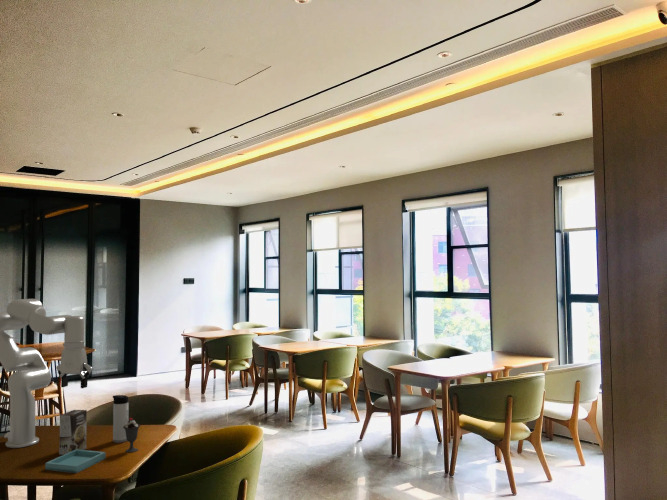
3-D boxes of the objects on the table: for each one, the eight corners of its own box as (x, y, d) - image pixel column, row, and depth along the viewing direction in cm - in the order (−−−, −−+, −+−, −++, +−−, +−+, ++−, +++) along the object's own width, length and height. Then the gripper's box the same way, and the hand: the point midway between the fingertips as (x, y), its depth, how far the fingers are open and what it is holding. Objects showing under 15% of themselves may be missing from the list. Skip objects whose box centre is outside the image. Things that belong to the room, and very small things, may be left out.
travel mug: (110, 440, 240) (110, 395, 240) (125, 437, 244) (125, 392, 245) (115, 444, 235) (115, 397, 236) (130, 440, 239) (130, 395, 240)
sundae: (130, 447, 231) (130, 411, 231) (143, 449, 228) (143, 412, 229) (119, 452, 224) (119, 415, 225) (132, 454, 222) (132, 416, 223)
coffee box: (72, 455, 221) (72, 415, 221) (58, 454, 222) (59, 414, 223) (87, 448, 230) (87, 409, 230) (73, 447, 231) (73, 409, 232)
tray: (45, 469, 205) (45, 462, 205) (76, 455, 221) (76, 449, 221) (76, 473, 201) (76, 466, 202) (105, 458, 217) (105, 452, 217)
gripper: (50, 346, 226) (50, 388, 225) (85, 347, 221) (85, 390, 221) (63, 344, 233) (63, 384, 233) (98, 345, 229) (97, 386, 228)
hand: (74, 387), depth 227 cm, fingers open, 9 cm apart
